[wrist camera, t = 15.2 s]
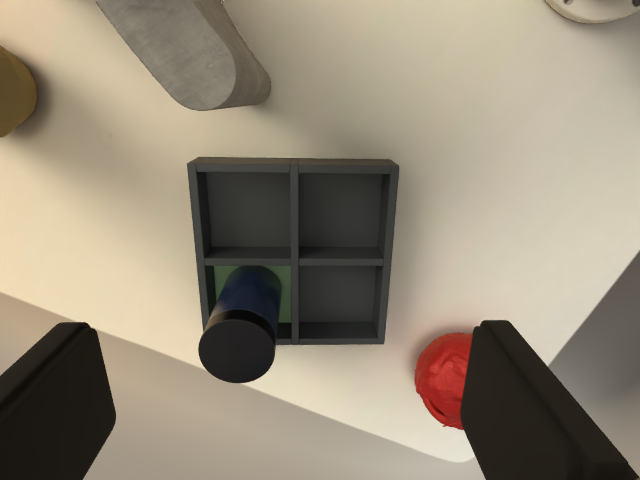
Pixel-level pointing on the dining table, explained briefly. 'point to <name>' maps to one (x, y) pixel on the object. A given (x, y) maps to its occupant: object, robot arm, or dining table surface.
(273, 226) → the tray
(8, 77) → the squeeze bottle
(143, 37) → the hip flask
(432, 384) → the red hollow tomato
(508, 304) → the dining table surface
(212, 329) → the thermos
